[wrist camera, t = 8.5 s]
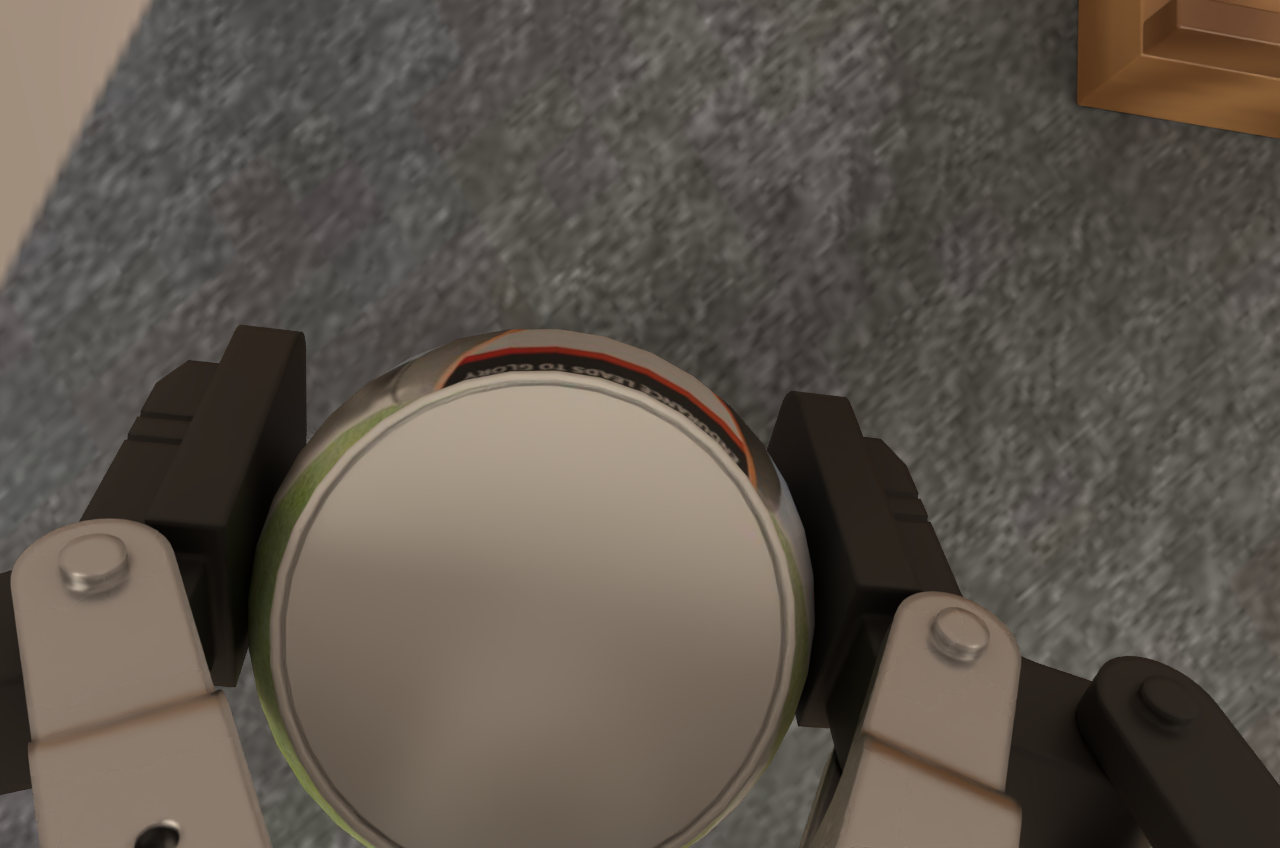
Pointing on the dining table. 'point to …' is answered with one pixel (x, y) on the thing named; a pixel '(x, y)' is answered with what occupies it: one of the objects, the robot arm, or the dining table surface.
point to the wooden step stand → (1183, 61)
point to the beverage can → (531, 601)
